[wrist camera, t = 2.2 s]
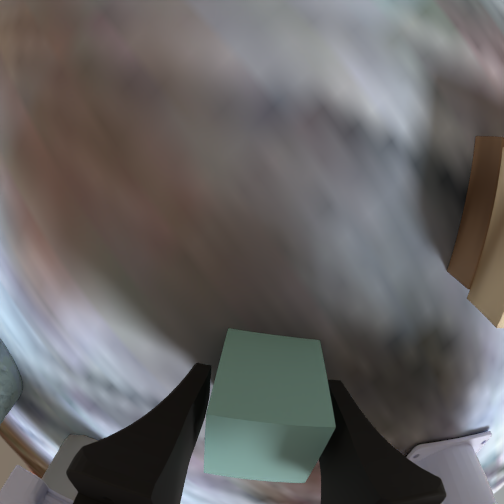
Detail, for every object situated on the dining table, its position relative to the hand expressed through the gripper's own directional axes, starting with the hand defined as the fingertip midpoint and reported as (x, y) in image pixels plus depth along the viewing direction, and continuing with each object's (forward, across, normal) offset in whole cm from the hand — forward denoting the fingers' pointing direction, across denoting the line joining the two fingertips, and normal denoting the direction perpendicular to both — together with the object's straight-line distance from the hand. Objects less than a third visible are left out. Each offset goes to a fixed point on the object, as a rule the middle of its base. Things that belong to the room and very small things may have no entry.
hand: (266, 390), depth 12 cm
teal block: (+2, 0, 0) cm, 2 cm away
